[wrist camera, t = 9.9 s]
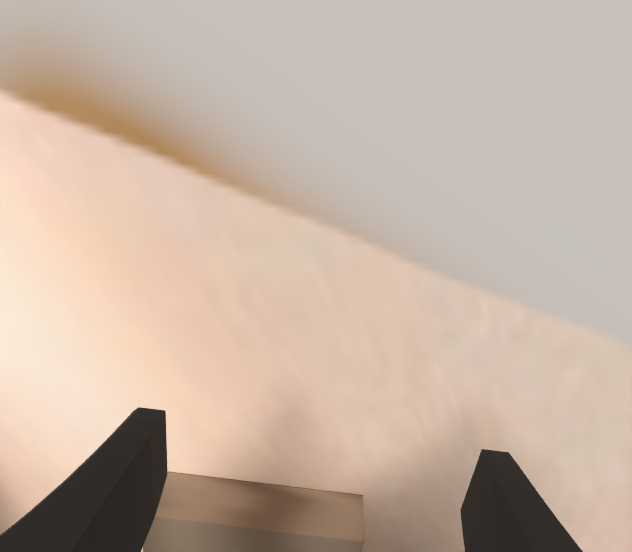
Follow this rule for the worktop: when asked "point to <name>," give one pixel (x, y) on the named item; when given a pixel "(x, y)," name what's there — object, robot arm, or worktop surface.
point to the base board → (252, 518)
